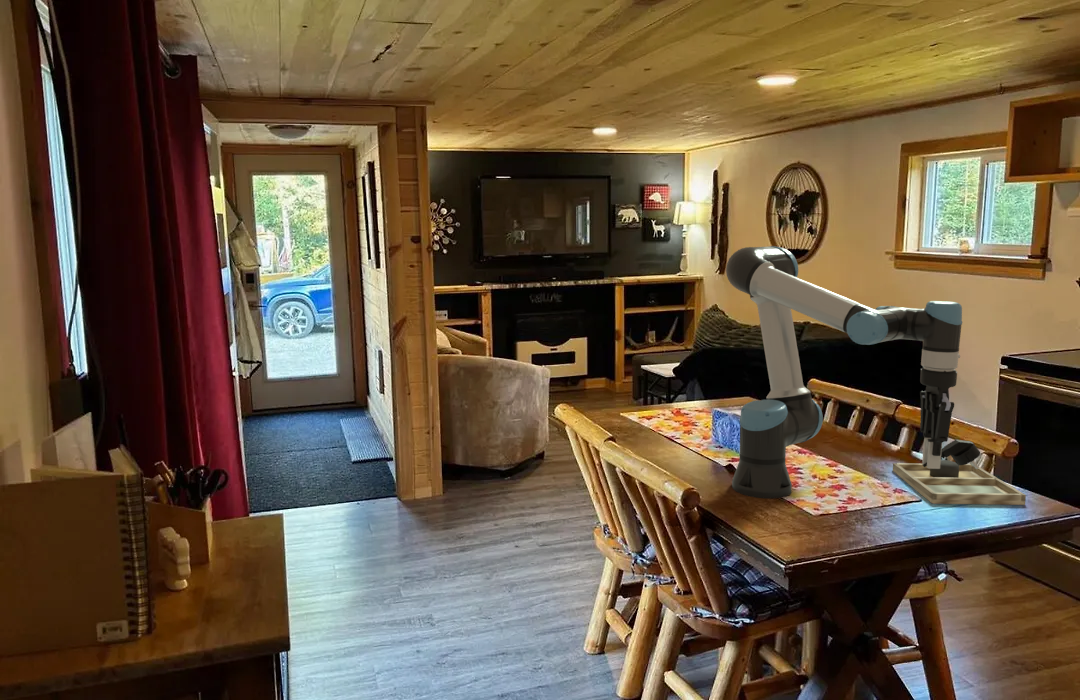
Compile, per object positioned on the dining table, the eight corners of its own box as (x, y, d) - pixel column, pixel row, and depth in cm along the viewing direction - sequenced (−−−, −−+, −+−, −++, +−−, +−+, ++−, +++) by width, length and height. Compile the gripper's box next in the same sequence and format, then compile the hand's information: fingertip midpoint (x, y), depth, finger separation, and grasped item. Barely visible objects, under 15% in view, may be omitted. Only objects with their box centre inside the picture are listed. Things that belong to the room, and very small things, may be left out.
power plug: (917, 460, 186) (962, 432, 183) (937, 485, 186) (982, 457, 183) (924, 466, 180) (971, 437, 178) (944, 492, 180) (991, 463, 178)
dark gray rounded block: (936, 479, 208) (937, 467, 207) (925, 471, 215) (925, 459, 214) (963, 479, 207) (964, 467, 207) (951, 472, 214) (952, 459, 214)
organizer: (932, 503, 192) (932, 493, 192) (892, 471, 219) (893, 463, 219) (1025, 504, 191) (1025, 495, 190) (973, 472, 217) (974, 464, 217)
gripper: (971, 374, 171) (961, 476, 175) (942, 363, 186) (934, 457, 190) (935, 374, 172) (927, 476, 176) (909, 362, 187) (902, 456, 190)
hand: (931, 466), depth 183 cm, fingers closed on power plug, 2 cm apart
